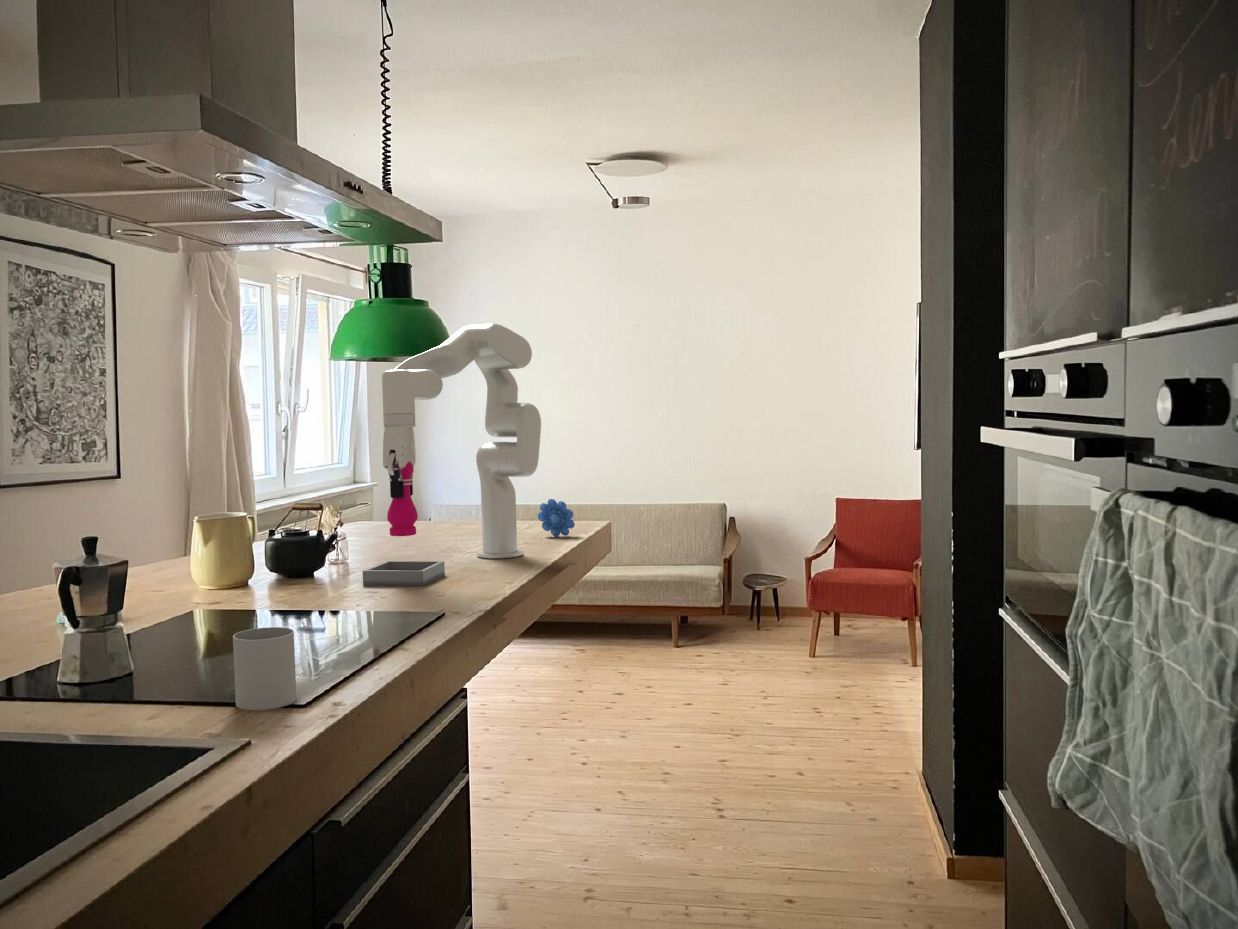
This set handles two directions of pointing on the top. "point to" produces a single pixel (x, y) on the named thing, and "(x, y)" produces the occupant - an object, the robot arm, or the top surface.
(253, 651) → the cup
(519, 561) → the top surface
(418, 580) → the tray
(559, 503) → the blue toy flower
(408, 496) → the pepper mill
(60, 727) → the top surface
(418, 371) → the robot arm
